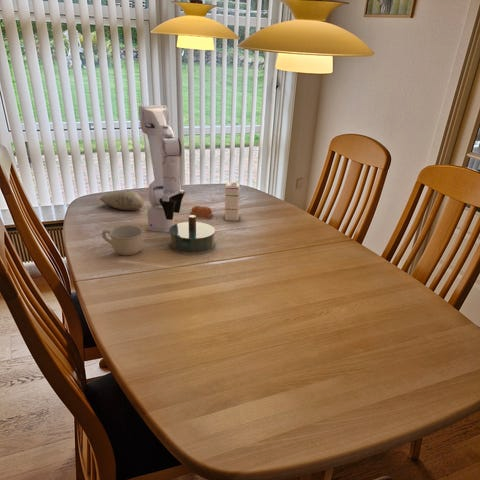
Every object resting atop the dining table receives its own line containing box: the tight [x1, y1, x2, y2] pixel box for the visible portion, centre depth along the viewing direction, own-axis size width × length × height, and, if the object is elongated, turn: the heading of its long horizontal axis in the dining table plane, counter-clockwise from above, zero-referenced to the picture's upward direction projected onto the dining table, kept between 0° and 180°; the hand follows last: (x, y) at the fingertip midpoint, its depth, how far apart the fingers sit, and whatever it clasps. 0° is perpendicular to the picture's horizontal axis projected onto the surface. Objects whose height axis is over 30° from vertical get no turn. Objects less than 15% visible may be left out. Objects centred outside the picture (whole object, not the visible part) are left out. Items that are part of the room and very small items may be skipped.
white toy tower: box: [224, 181, 241, 221], centre depth 181 cm, size 6×6×14 cm
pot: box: [170, 234, 215, 254], centre depth 158 cm, size 15×21×6 cm
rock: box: [99, 190, 145, 211], centre depth 188 cm, size 8×11×20 cm
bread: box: [190, 205, 213, 219], centre depth 185 cm, size 8×5×4 cm, turn 79°
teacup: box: [101, 224, 144, 256], centre depth 150 cm, size 14×11×8 cm
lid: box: [168, 214, 216, 240], centre depth 155 cm, size 16×16×6 cm
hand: (172, 215), depth 154 cm, fingers open, 7 cm apart
